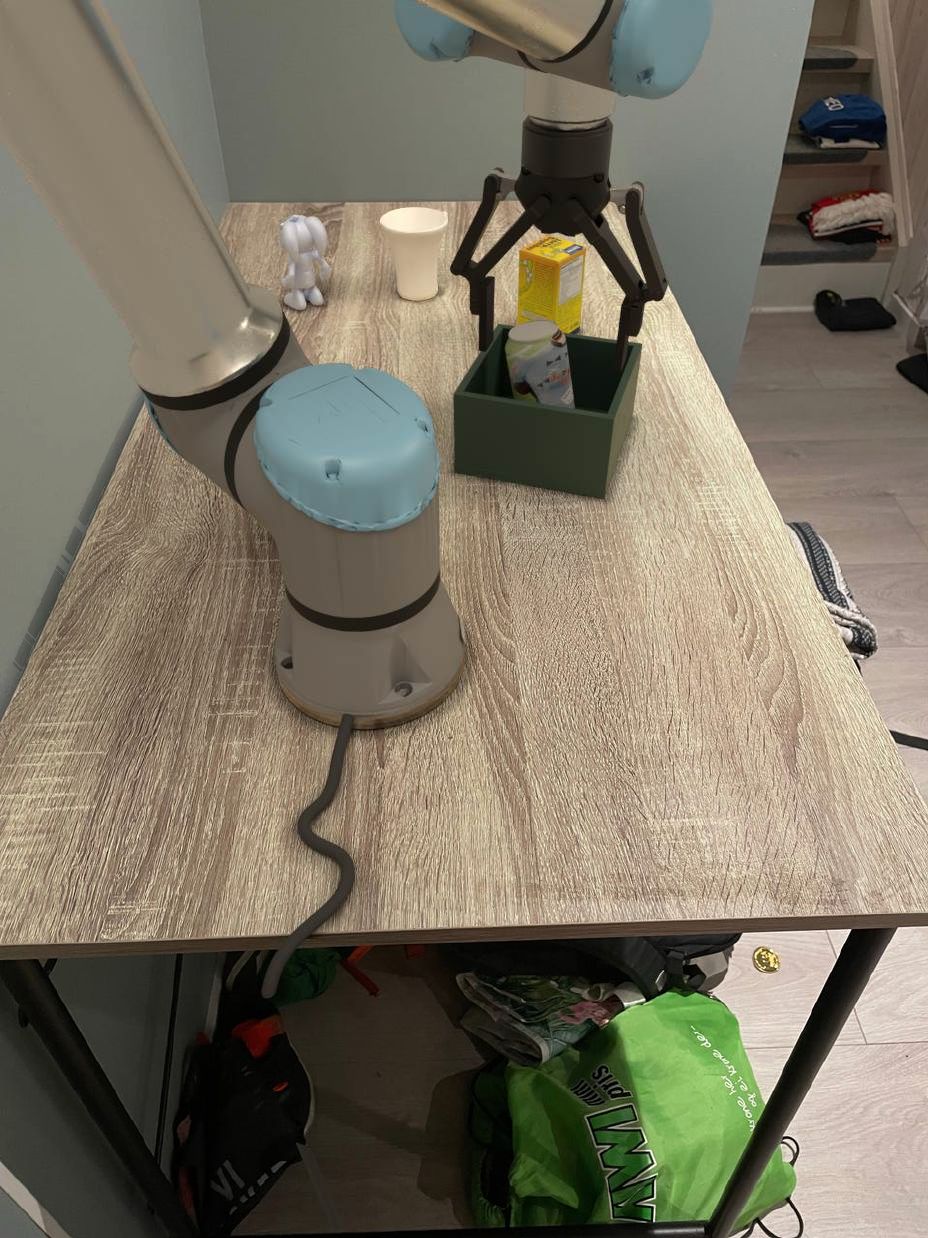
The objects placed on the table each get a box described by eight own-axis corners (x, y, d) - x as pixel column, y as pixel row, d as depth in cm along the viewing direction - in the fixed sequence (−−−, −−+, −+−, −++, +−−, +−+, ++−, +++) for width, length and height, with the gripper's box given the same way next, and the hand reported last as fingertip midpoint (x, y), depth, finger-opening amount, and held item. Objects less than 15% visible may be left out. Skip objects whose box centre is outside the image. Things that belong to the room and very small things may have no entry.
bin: (604, 499, 90) (614, 419, 84) (454, 472, 93) (453, 393, 87) (632, 419, 101) (642, 343, 95) (496, 397, 104) (498, 323, 98)
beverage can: (571, 454, 93) (574, 343, 85) (501, 448, 95) (497, 339, 87) (581, 423, 98) (584, 315, 90) (513, 418, 99) (511, 311, 91)
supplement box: (542, 318, 119) (547, 233, 111) (580, 331, 116) (588, 245, 108) (514, 335, 115) (517, 248, 108) (553, 349, 113) (559, 261, 105)
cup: (461, 298, 123) (460, 222, 116) (396, 310, 121) (391, 233, 114) (438, 273, 129) (436, 200, 122) (375, 284, 127) (370, 209, 120)
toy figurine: (319, 289, 126) (308, 198, 117) (340, 306, 122) (331, 213, 113) (273, 301, 123) (259, 209, 115) (293, 318, 119) (280, 224, 111)
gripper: (726, 116, 75) (683, 355, 90) (440, 92, 81) (444, 321, 95) (715, 143, 70) (672, 392, 85) (411, 115, 75) (420, 354, 90)
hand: (551, 355), depth 90 cm, fingers open, 13 cm apart
